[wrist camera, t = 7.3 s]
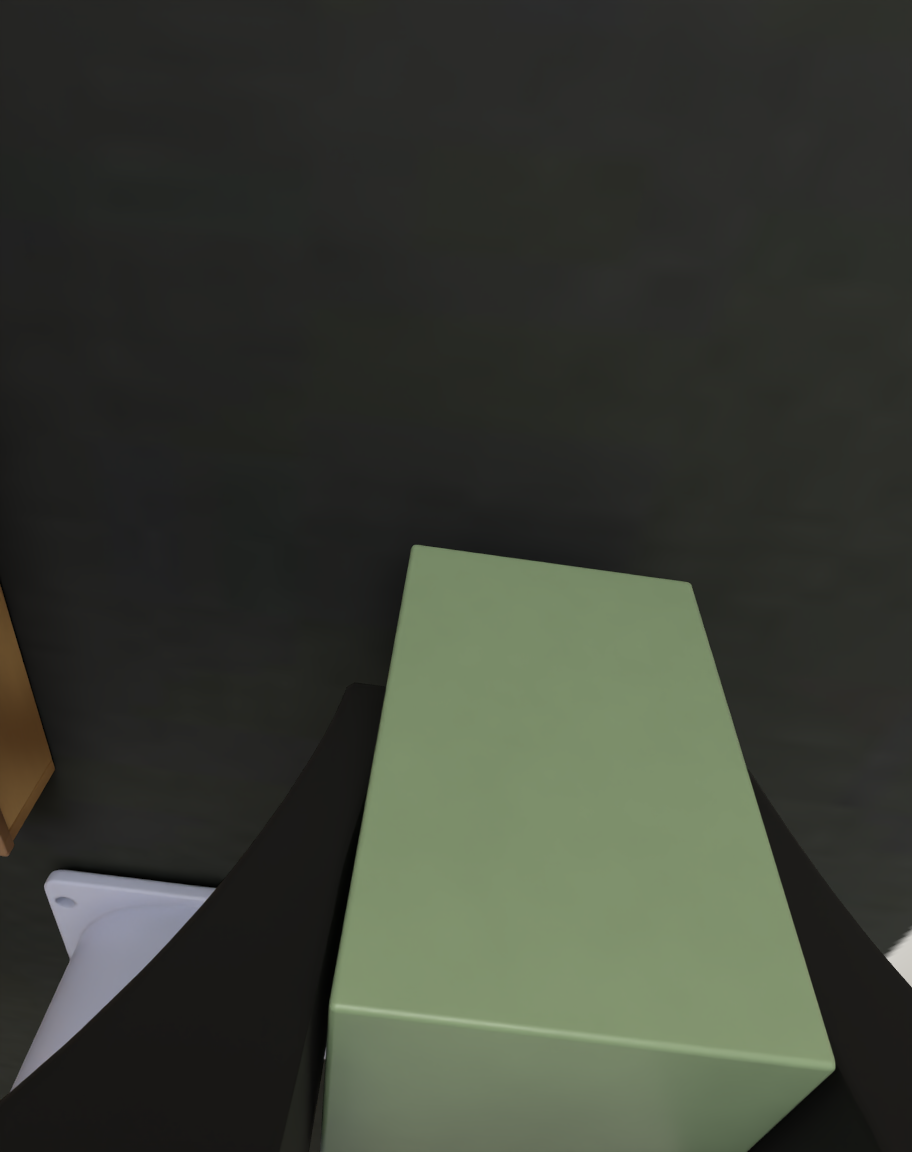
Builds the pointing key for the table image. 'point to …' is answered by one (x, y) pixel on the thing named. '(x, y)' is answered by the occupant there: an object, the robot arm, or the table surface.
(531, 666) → the block
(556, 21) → the table surface
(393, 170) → the table surface
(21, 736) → the wooden frame
